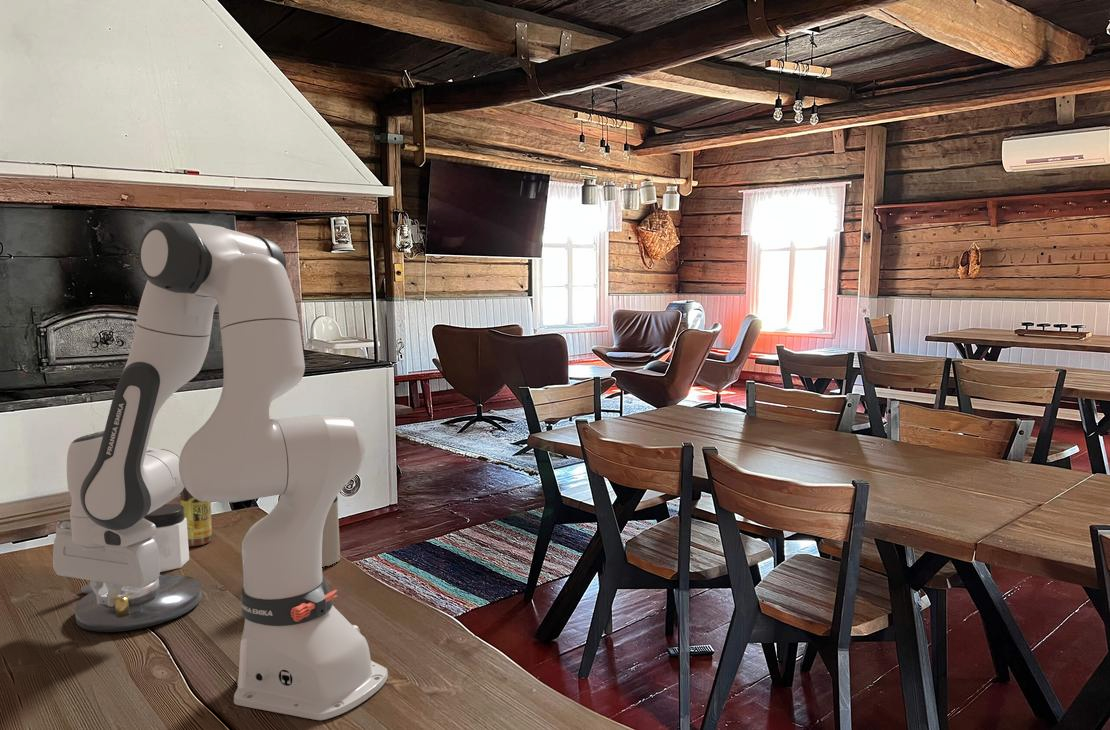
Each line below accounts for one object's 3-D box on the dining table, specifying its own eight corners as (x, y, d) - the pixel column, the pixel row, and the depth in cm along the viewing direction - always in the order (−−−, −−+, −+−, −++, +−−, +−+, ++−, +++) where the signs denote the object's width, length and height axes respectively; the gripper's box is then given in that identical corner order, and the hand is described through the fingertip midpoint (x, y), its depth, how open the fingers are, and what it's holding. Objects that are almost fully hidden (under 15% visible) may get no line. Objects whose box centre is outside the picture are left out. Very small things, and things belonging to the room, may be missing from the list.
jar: (145, 576, 153) (140, 518, 152) (139, 564, 160) (135, 508, 159) (193, 566, 159) (189, 510, 157) (185, 554, 165) (182, 501, 164)
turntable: (104, 588, 146) (102, 563, 145) (214, 580, 149) (212, 556, 149) (54, 636, 126) (51, 607, 126) (182, 626, 130) (180, 598, 129)
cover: (162, 584, 143) (160, 561, 142) (156, 603, 134) (154, 579, 134) (107, 592, 139) (105, 568, 139) (97, 612, 131) (95, 587, 130)
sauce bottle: (197, 549, 169) (192, 461, 166) (175, 546, 171) (169, 459, 168) (219, 539, 175) (214, 454, 173) (198, 536, 177) (192, 453, 175)
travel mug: (314, 572, 155) (310, 486, 152) (293, 563, 160) (289, 479, 158) (347, 560, 161) (344, 477, 158) (326, 552, 166) (322, 471, 164)
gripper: (39, 526, 129) (45, 603, 130) (132, 538, 122) (138, 620, 124) (72, 514, 135) (79, 589, 136) (164, 526, 128) (169, 604, 130)
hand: (108, 604), depth 130 cm, fingers closed
